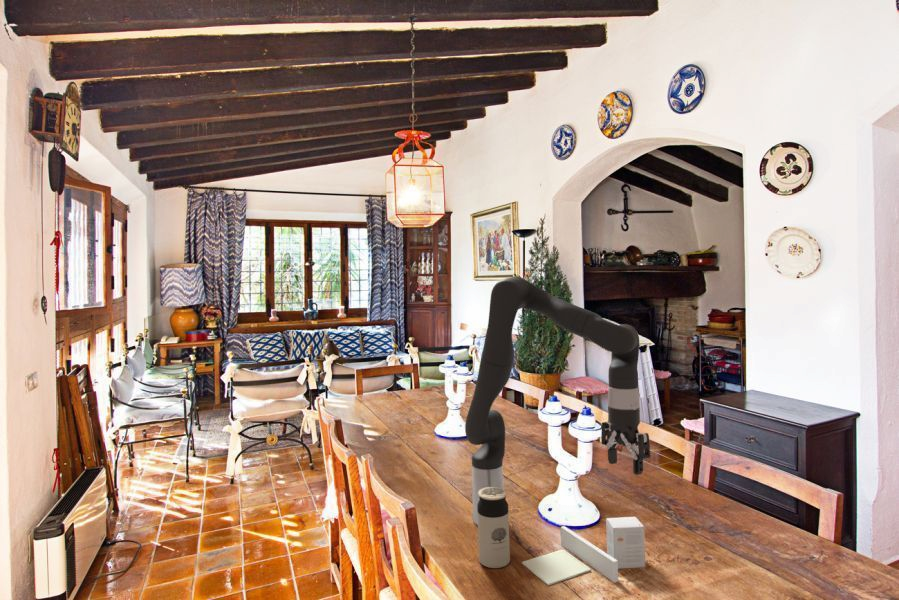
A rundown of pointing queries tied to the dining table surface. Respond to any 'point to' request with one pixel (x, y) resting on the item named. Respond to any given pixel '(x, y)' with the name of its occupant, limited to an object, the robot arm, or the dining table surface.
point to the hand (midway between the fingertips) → (625, 468)
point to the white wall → (590, 554)
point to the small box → (626, 541)
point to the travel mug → (493, 527)
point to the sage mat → (556, 567)
